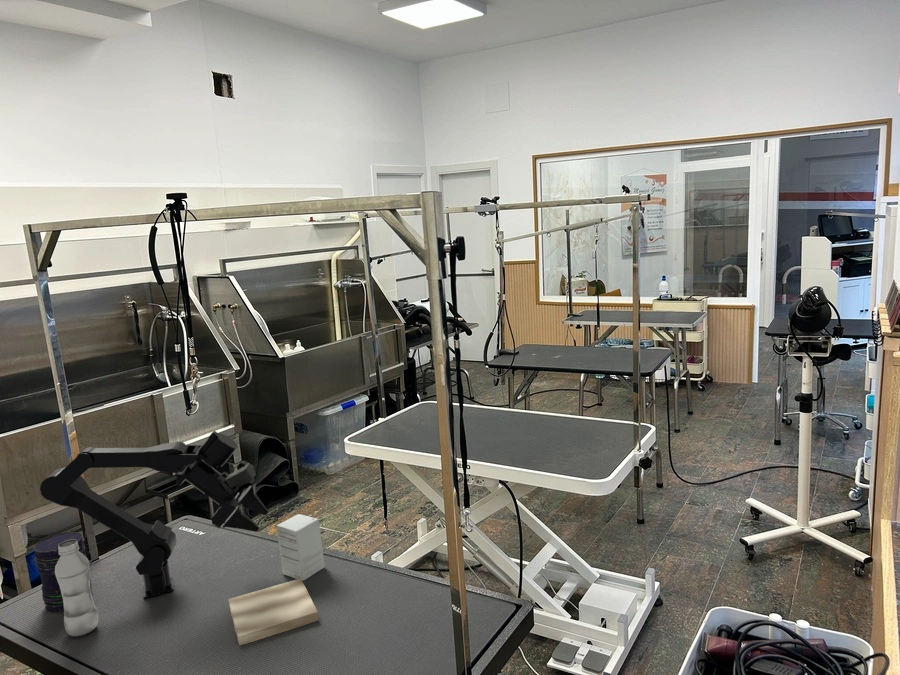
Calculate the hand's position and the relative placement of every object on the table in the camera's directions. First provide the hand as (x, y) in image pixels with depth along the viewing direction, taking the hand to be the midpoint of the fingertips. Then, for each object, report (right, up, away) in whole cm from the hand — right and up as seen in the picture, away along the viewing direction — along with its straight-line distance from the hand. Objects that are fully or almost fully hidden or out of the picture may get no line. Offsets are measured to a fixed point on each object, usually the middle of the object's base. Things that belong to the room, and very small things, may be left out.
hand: (262, 521), depth 156 cm
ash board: (+6, -16, -15) cm, 23 cm away
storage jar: (-44, -18, -3) cm, 48 cm away
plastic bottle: (-34, -19, -16) cm, 42 cm away
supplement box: (+9, -13, +3) cm, 16 cm away
